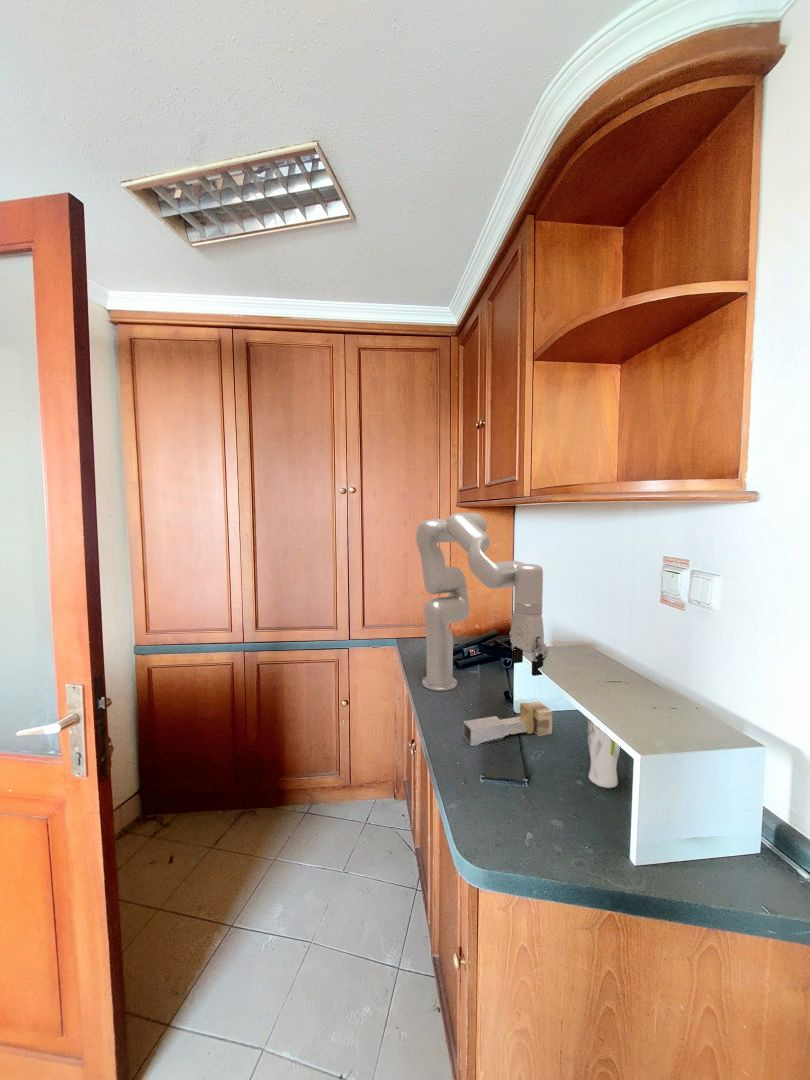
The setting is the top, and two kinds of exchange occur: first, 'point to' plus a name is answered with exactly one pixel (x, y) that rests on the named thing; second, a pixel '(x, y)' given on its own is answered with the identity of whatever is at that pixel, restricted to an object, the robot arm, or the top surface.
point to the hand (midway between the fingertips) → (526, 668)
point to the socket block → (542, 718)
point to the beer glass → (602, 757)
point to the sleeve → (483, 730)
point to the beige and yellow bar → (521, 721)
